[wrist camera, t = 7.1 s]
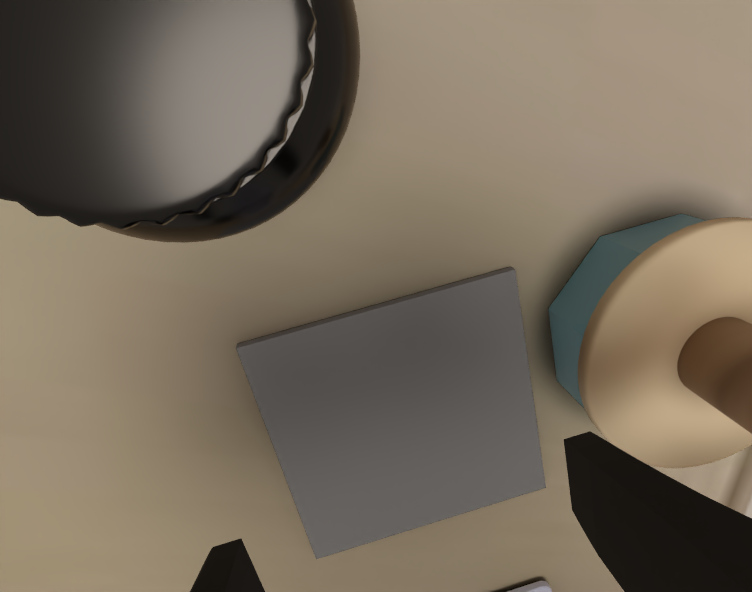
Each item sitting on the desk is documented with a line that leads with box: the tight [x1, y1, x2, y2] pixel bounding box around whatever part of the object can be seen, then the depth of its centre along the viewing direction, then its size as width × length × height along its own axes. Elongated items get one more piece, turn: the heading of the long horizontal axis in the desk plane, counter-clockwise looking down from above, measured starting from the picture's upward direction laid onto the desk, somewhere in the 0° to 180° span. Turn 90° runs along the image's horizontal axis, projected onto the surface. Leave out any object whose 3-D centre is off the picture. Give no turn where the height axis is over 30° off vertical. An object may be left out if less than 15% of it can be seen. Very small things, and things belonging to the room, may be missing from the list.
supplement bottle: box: [0, 0, 360, 242], centre depth 11 cm, size 7×7×12 cm
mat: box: [236, 267, 546, 559], centre depth 22 cm, size 11×11×1 cm
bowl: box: [548, 214, 706, 409], centre depth 21 cm, size 8×8×3 cm
